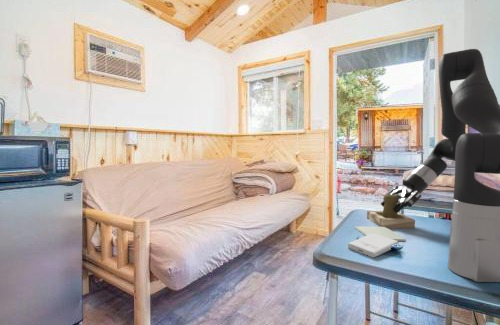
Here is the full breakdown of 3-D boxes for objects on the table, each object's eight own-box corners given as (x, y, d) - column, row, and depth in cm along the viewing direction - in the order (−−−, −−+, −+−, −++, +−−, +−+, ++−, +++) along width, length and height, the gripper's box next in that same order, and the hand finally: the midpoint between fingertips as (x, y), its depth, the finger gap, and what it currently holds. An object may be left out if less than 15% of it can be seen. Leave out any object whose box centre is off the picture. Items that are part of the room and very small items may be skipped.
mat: (405, 241, 83) (405, 239, 83) (371, 240, 83) (371, 238, 83) (385, 228, 95) (385, 226, 95) (355, 228, 95) (355, 226, 94)
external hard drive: (398, 246, 77) (374, 258, 70) (372, 237, 83) (347, 247, 76) (398, 241, 76) (374, 252, 70) (372, 232, 83) (347, 242, 76)
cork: (401, 225, 99) (403, 196, 98) (385, 225, 99) (387, 196, 98) (393, 220, 105) (394, 193, 104) (377, 220, 105) (379, 193, 104)
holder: (414, 228, 96) (415, 219, 96) (382, 227, 96) (382, 219, 96) (395, 218, 108) (396, 211, 108) (366, 218, 108) (367, 210, 108)
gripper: (402, 170, 108) (372, 197, 108) (426, 174, 94) (392, 206, 94) (413, 183, 108) (384, 210, 109) (439, 189, 94) (405, 220, 95)
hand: (388, 208), depth 102 cm, fingers open, 8 cm apart
